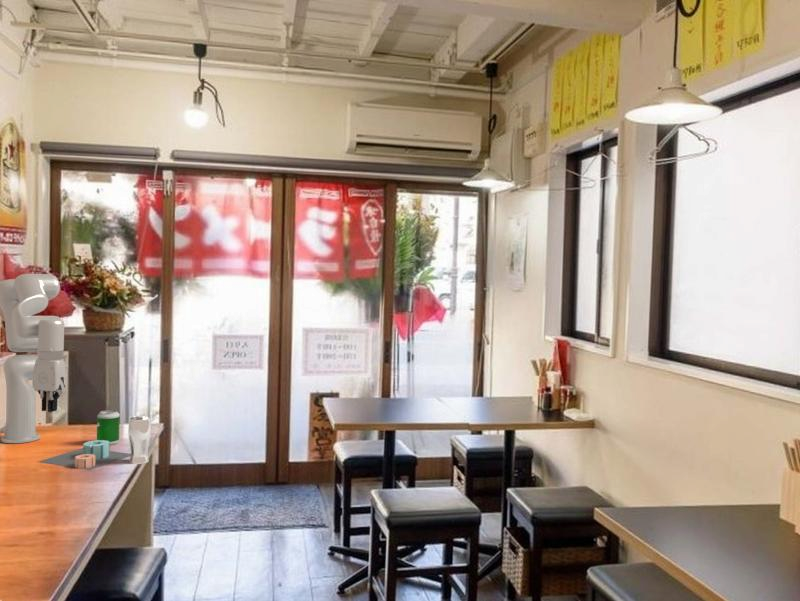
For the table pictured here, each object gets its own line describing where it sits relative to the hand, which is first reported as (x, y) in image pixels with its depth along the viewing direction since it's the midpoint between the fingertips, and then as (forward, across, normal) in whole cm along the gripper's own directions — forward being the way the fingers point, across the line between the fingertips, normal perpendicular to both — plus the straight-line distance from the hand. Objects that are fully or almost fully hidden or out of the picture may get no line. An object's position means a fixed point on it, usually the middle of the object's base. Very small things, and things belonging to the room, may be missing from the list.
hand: (49, 410), depth 213 cm
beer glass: (+16, +28, +10) cm, 34 cm away
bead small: (+16, +16, -1) cm, 23 cm away
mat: (+17, +10, +6) cm, 21 cm away
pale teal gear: (+16, +11, +9) cm, 22 cm away
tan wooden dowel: (+4, 0, 0) cm, 4 cm away
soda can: (+17, +2, +24) cm, 30 cm away
